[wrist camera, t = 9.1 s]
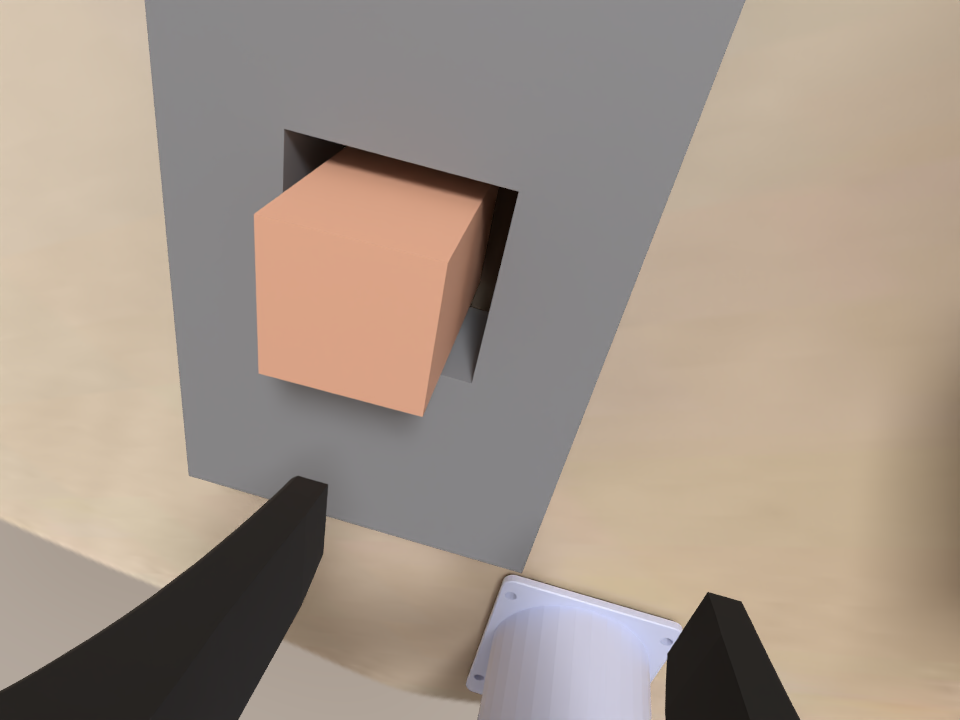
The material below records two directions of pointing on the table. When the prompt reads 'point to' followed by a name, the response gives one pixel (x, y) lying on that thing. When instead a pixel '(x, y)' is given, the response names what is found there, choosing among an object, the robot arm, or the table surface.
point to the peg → (369, 276)
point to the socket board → (446, 147)
